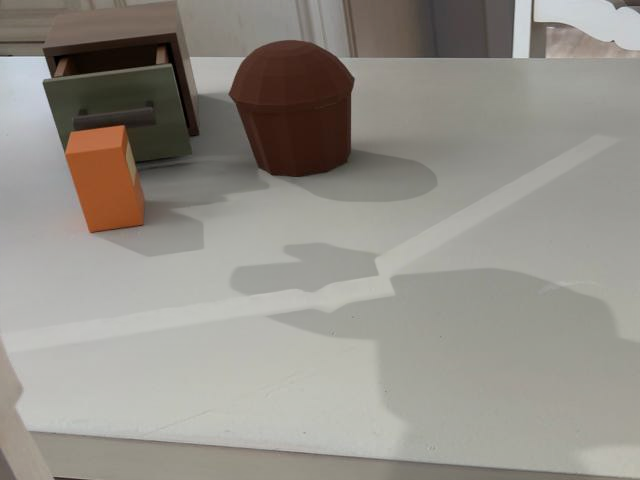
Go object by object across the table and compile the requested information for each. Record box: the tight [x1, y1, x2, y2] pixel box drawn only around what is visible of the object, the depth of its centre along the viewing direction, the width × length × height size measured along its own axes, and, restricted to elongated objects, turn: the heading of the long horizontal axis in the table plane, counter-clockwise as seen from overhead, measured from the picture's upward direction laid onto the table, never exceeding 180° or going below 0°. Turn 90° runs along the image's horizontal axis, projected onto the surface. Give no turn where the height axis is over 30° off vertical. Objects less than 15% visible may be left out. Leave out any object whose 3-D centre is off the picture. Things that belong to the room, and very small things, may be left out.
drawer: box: [41, 43, 193, 163], centre depth 97 cm, size 19×11×8 cm, turn 13°
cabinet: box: [41, 0, 201, 137], centre depth 106 cm, size 16×13×10 cm
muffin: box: [227, 39, 356, 177], centre depth 93 cm, size 12×11×10 cm
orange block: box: [64, 125, 146, 233], centre depth 86 cm, size 5×6×6 cm
